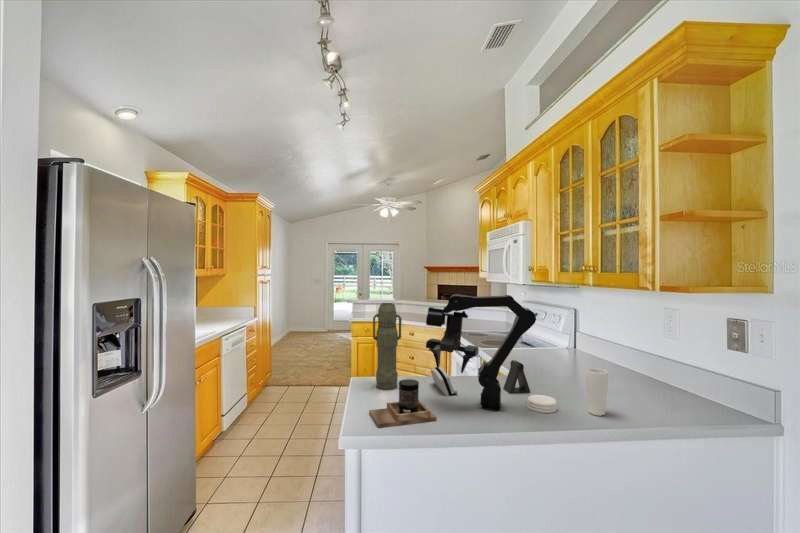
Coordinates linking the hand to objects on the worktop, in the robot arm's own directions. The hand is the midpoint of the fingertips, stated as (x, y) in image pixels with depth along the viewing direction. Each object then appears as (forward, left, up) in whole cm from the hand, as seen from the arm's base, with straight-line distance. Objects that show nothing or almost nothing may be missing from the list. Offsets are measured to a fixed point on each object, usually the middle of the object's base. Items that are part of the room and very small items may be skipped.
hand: (449, 370), depth 143 cm
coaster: (-32, -9, -13) cm, 36 cm away
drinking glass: (-50, -11, -13) cm, 53 cm away
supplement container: (+10, +17, -11) cm, 23 cm away
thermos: (+29, -9, -13) cm, 33 cm away
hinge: (+7, -15, -13) cm, 21 cm away
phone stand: (-22, -25, -13) cm, 36 cm away
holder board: (+12, +18, -12) cm, 25 cm away
